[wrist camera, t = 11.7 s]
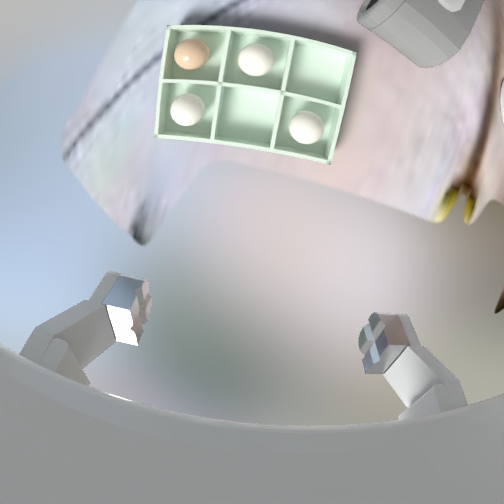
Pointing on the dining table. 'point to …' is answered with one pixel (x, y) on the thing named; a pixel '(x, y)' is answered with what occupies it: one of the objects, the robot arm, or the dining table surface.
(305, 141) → the cream egg
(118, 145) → the dining table surface
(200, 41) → the brown egg
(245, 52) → the cream egg
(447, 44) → the alarm clock
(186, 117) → the cream egg
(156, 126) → the egg tray
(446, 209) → the dining table surface
